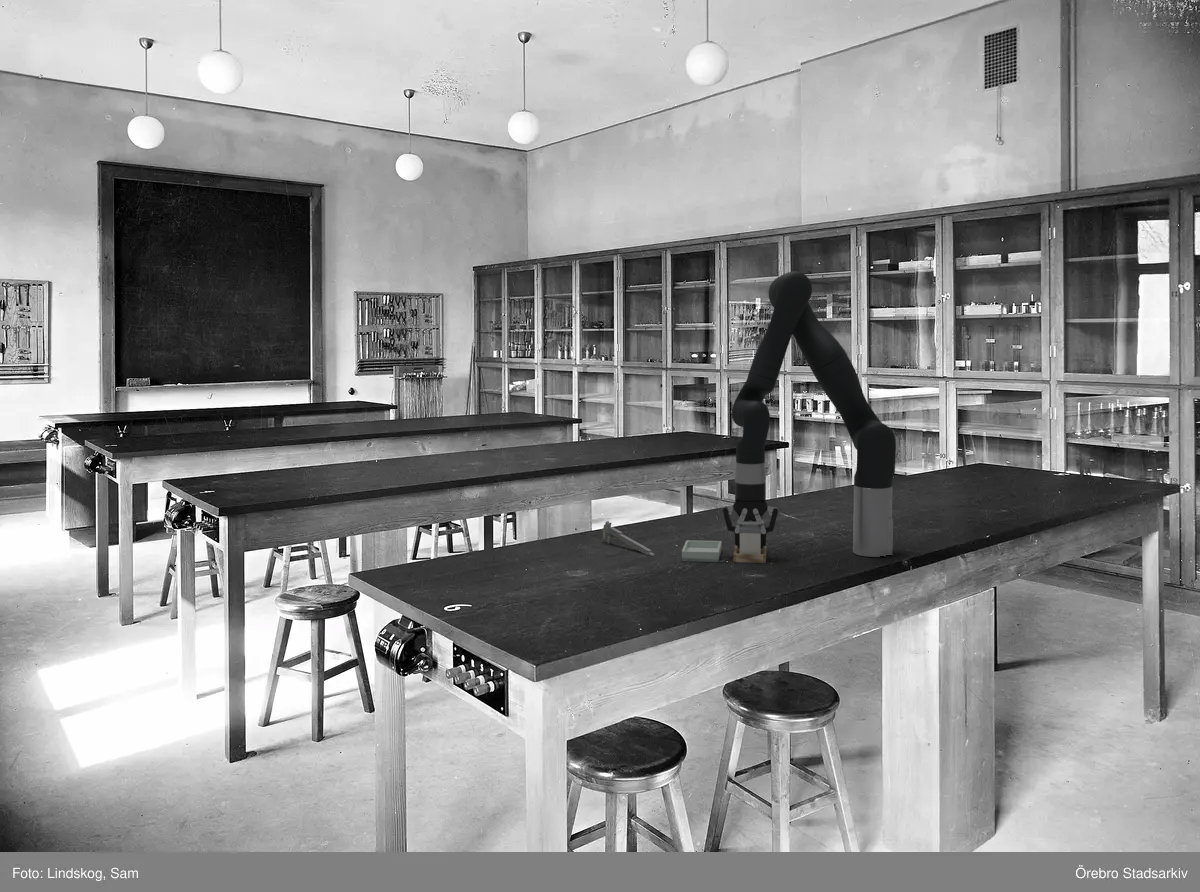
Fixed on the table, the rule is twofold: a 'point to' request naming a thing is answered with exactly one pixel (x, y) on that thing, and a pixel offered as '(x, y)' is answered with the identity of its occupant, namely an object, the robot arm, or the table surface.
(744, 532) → the gray rectangular box
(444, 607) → the table surface
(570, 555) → the table surface
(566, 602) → the table surface
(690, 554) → the tray
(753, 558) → the holder
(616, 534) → the caliper
